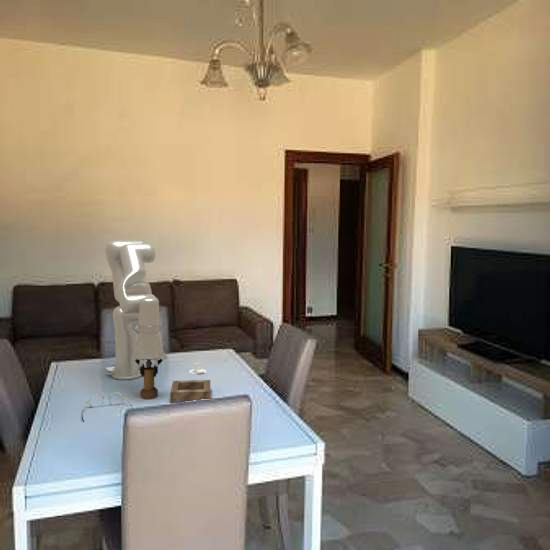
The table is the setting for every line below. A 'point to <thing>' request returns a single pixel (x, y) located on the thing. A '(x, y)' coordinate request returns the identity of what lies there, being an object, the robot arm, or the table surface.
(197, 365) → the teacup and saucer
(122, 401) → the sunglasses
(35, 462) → the table surface
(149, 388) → the brown flared column
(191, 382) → the walnut holder
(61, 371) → the table surface
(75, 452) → the table surface
